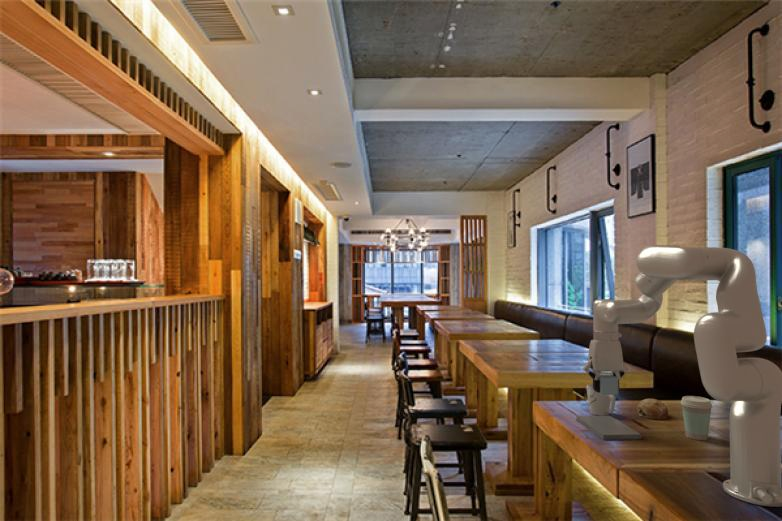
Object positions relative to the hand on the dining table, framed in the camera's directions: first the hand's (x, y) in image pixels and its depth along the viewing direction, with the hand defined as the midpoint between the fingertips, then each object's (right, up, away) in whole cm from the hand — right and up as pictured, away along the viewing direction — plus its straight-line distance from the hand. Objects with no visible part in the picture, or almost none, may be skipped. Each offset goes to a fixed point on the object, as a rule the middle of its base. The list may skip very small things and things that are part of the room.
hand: (606, 390), depth 164 cm
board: (0, -13, 0) cm, 13 cm away
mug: (+6, -13, +17) cm, 22 cm away
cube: (0, -1, 0) cm, 1 cm away
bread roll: (+24, -13, +15) cm, 31 cm away
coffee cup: (+25, -13, -8) cm, 29 cm away
